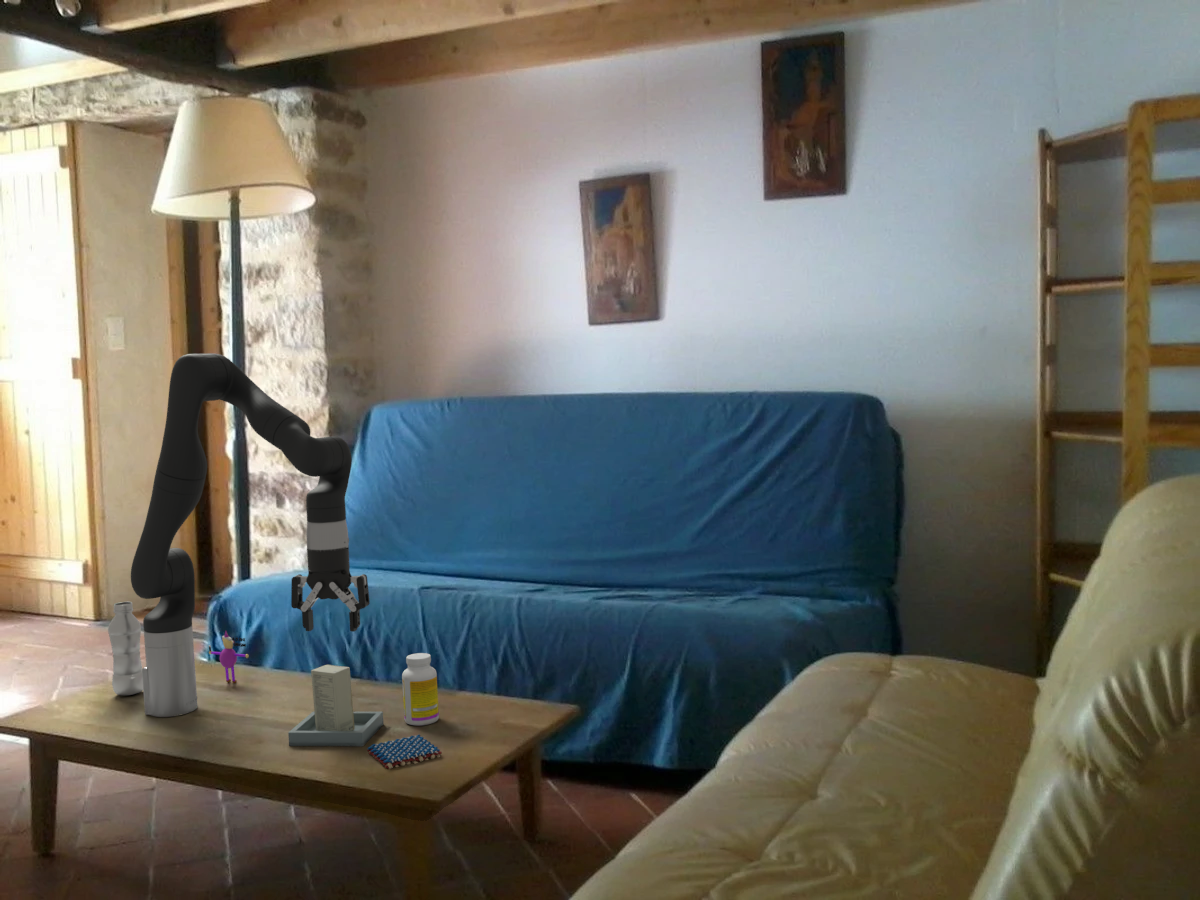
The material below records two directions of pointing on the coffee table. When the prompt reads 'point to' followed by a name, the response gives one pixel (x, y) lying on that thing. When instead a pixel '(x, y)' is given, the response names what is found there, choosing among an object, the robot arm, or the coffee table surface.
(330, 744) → the tray
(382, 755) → the woven mat
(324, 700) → the skincare box
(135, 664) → the plastic bottle
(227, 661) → the wizard figurine
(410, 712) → the supplement bottle
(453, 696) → the coffee table surface
